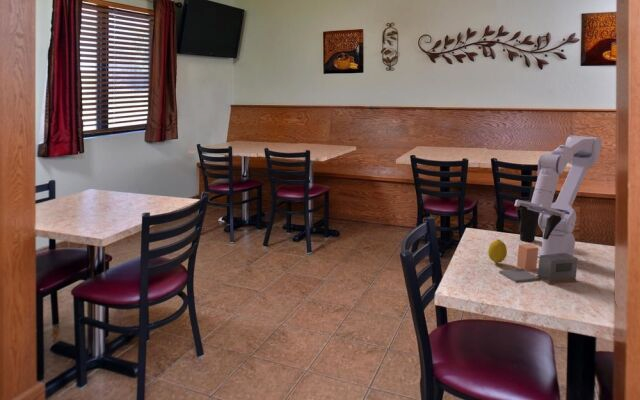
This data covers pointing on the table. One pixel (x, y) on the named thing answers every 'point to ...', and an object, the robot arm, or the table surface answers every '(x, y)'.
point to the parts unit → (557, 268)
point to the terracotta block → (527, 257)
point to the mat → (519, 275)
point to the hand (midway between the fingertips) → (532, 235)
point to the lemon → (497, 251)
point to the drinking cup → (530, 224)
